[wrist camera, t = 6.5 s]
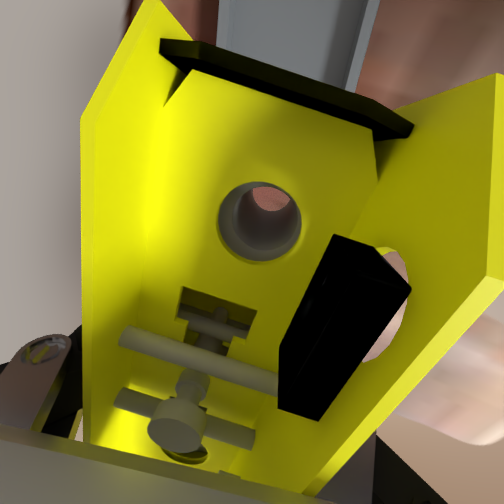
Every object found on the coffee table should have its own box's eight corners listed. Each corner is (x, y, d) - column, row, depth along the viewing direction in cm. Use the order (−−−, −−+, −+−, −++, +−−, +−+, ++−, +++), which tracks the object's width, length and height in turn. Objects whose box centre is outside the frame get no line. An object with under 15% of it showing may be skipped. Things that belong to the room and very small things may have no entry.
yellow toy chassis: (245, 394, 15) (208, 631, 8) (162, 367, 15) (44, 580, 8) (364, 132, 9) (849, 29, 1) (220, 84, 9) (-182, -328, 1)
